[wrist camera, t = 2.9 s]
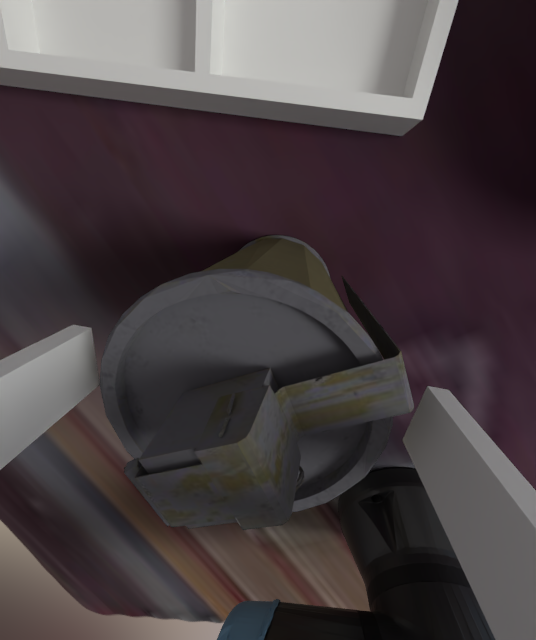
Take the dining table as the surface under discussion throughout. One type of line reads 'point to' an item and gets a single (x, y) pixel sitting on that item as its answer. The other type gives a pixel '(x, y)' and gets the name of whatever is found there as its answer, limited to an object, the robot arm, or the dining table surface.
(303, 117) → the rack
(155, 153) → the dining table surface
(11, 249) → the dining table surface
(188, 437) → the canister
